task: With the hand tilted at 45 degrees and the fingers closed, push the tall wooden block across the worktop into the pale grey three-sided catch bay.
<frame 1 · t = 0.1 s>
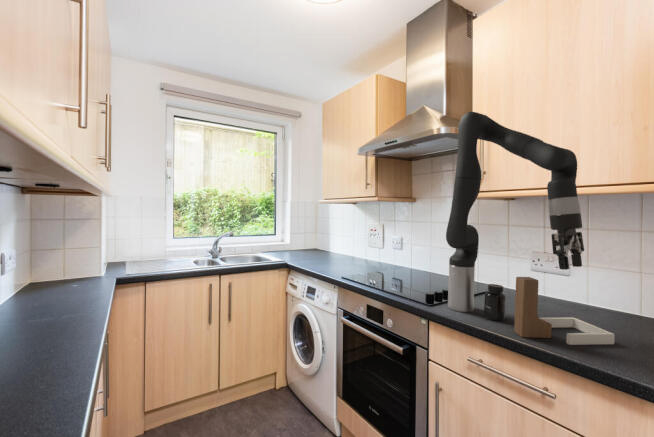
hand: (571, 267, 92), 22 cm above the table, tool pointing down, fingers open, 8 cm apart
supplement bottle: (494, 318, 112), on the table
catch bay: (571, 334, 98), on the table
wooden block: (532, 335, 97), on the table
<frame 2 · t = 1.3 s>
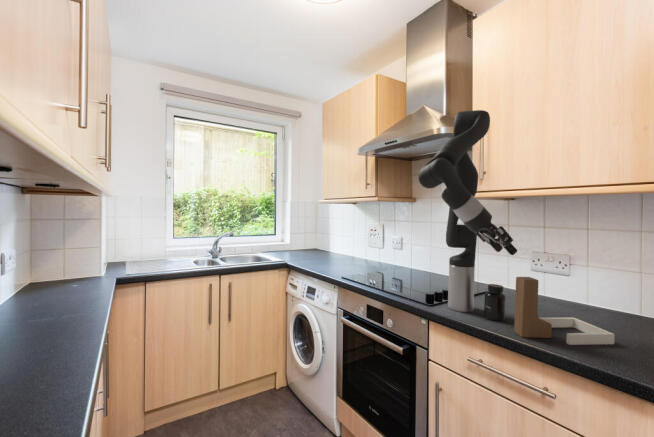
hand: (507, 251, 96), 26 cm above the table, tool tilted 45°, fingers open, 6 cm apart
nothing on the table moved.
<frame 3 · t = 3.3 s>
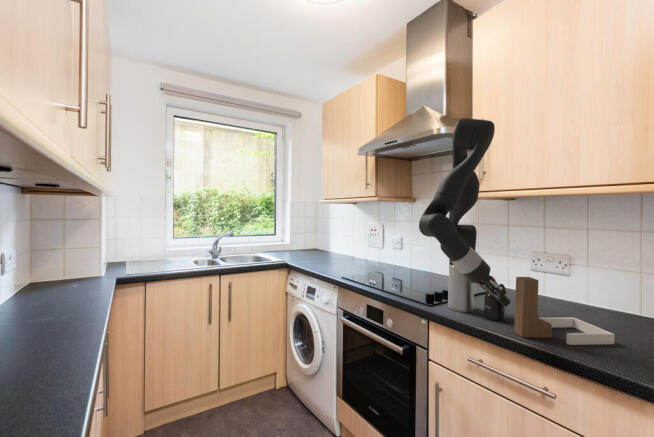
hand: (507, 303, 96), 10 cm above the table, tool tilted 45°, fingers closed
nothing on the table moved.
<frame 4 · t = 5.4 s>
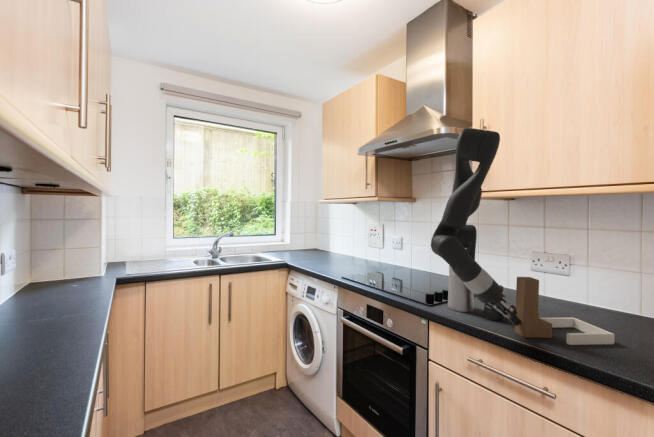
hand: (517, 323, 97), 4 cm above the table, tool tilted 45°, fingers closed
wooden block: (532, 335, 97), on the table, touching gripper
everything else where it was.
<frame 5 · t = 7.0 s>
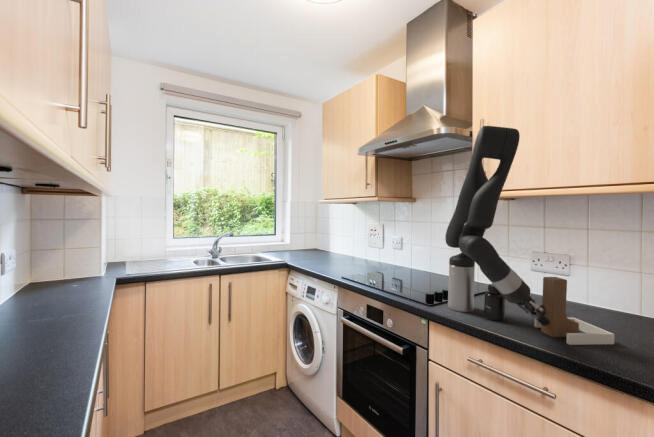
hand: (545, 323, 97), 4 cm above the table, tool tilted 45°, fingers closed
wooden block: (559, 335, 98), on the table, touching gripper
everything else where it was.
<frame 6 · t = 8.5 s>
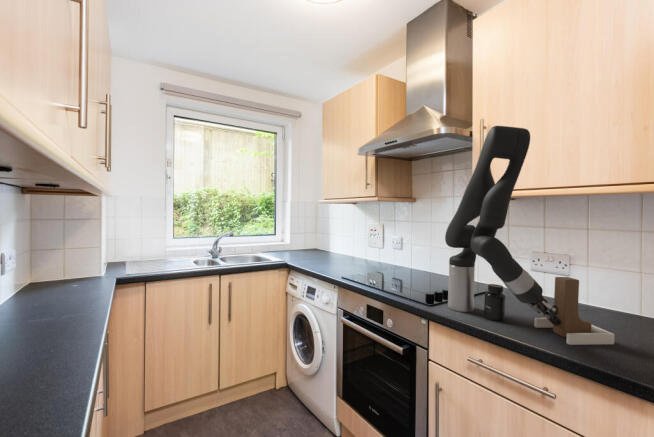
hand: (557, 323, 98), 4 cm above the table, tool tilted 45°, fingers closed
wooden block: (571, 335, 98), on the table, touching gripper
everything else where it was.
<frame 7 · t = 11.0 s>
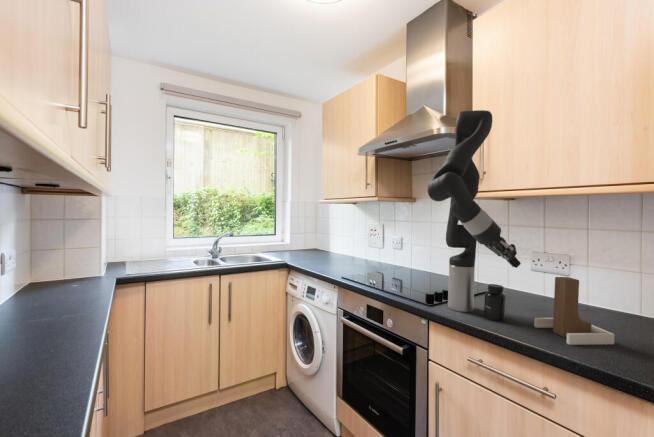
hand: (517, 265, 96), 22 cm above the table, tool tilted 45°, fingers closed
wooden block: (571, 335, 98), on the table
everything else where it was.
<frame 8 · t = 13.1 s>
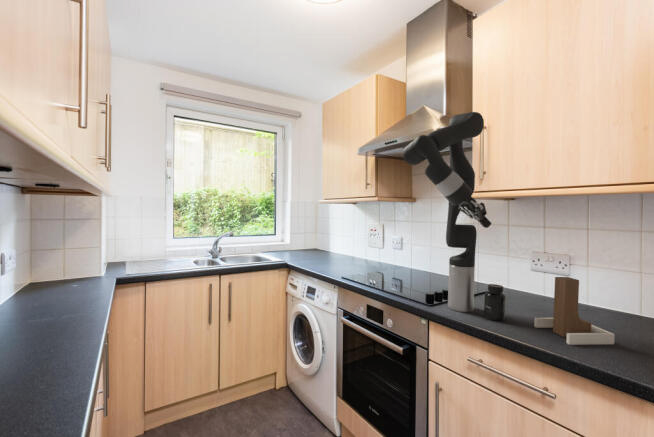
hand: (488, 225, 101), 34 cm above the table, tool tilted 45°, fingers closed
nothing on the table moved.
at the end: wooden block inside the target area on the catch bay (0.9 cm from its centre), point 0.0 cm above the catch bay's base; wooden block tilted 0°; wooden block moved 13.1 cm from its start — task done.
